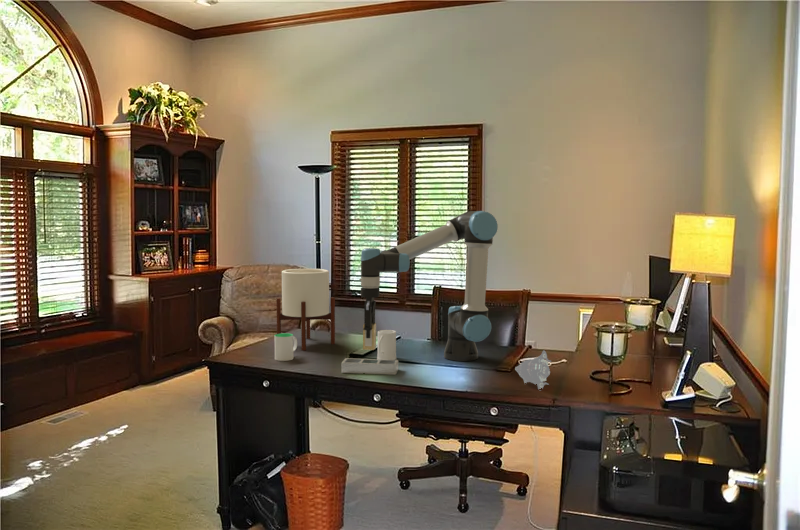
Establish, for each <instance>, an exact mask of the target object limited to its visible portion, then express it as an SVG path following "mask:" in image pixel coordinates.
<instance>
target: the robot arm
mask: <svg viewBox="0 0 800 530" xmlns="http://www.w3.org/2000/svg"><path fill="white" fill-rule="evenodd" d="M497 221H498V220H497V219H496V218H495V216H494V215H493V214H492V213H490V212H488V211H485V210H468V211H465V212H463V213H462V214H459V215H458V216H455V217H453V218H452V219H449V220H447V221H446V223H445V224H444V225H441V226H439V227H437V228H434V229H432V230H430V231H428V232H425V233H423V234H421V235H418V236H417V237H414V238H413V239H410V240H407V241H405V242H404V243H401V244H398V245H396V246H394V247H392V248H389V249H386V250H383V251H382V250H380V248H375V247H374V248H373V247H367V248H363V249H362V250H361V256H360V278H359V281H360V296H361V298H365V301H364V302H363V303H364V305H363V307H364V311H363V312H364V315H363V316H364V317H363V319H364V323H363V325H364V328H363V327H362V331H363V330H365V346H372V330H371V329H372V323H376V304H377V303H376V300H375V298H379V297H380V290H381V289H380V286H381V282H380V281H381V275H380V274H381V273H403V272H404V273H406V272H408V271H409V269H410V265H411V263H410V262H411V261H410V260H412V259H414V258H416V257H418V256H421V255H424V254H426V253H428V252H431V251H433V250H435V249H437V248H439V247H441V246H444V245H445V244H448V243H450V242H452V241H453V242H458V241H460V240H464V244H465V245H466V246H467V252H466V253H467V254H466V256H467V257H466V268H465V269H466V273H465V286H464V287H465V288H464V289H465V290H464V303H463V305H453V306H450V307H449V308H448V313H447V315H448V316H447V321H448V322H447V342H446V344H445V348H444V350H443V358H445V359H446V360H448V361H449V360H450V361H455V362H456V361H457V362H458V361H459V362H469V361H476V360H477V359H479V351H478V348H477V345H476V343H477V342H482V341H484V340H486V338H488V337H489V335H490V334H491V331H492V323H491V321H490V318H489V308H488V307H487V306H486V293H487V278H488V275H487V274H488V262H489V261H488V259H489V248H490V247H491V246H492V245H493V241H494V239H493V238H494V236H495V235H497V232H498V230H499V229H498V228H499V224H498V222H497Z"/></svg>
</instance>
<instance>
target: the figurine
mask: <svg viewBox="0 0 800 530" xmlns="http://www.w3.org/2000/svg"><path fill="white" fill-rule="evenodd" d="M551 362H552V360H550V359H549V358H548V354H547V352H546V351H545V350H542V352H541V354H540V355H539V356H538V357H534V359H526V360H524V361H523V362H521V363H520V364H518V365H517V366H515V368H514V370H515V371H516V372H517V374H518V375H519V377H520V378H521V379H522V380H523V383H524V384H525V383H526V384H527V383H531V384H534V385H536V384H537V385H536V386H537V389H538V390H539V389H541V388H542V389H544V386H546V385H549V386H550V384H549V383H548V382H546V381H547V378H548V377H549V376H550V374H551V371H550V367H549V363H551Z"/></svg>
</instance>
